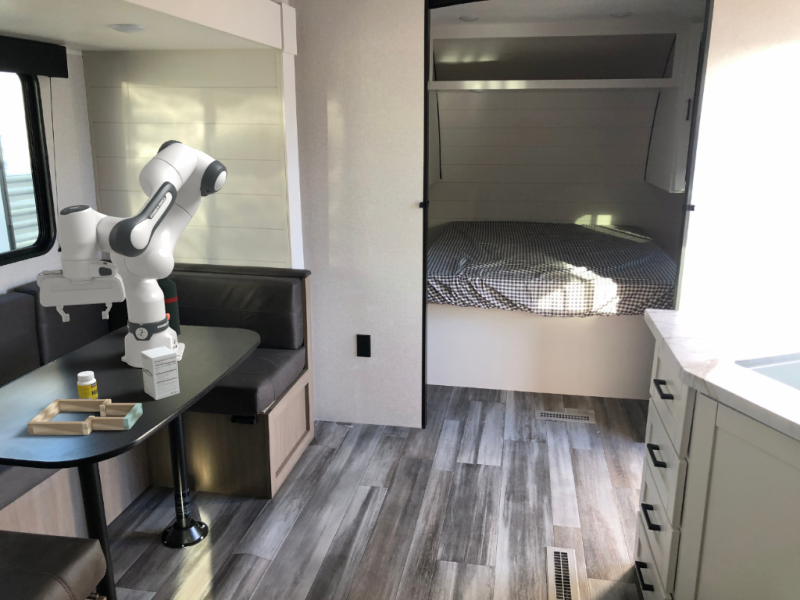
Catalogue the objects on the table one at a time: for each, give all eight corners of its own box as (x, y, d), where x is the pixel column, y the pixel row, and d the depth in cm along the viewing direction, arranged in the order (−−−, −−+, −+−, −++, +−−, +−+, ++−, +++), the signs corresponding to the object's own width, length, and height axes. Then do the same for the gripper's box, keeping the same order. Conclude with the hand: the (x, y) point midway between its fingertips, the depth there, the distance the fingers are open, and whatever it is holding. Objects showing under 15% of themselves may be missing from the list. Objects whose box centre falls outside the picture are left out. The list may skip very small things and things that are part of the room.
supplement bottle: (95, 405, 174) (92, 376, 172) (77, 406, 173) (73, 377, 171) (100, 398, 178) (97, 369, 176) (82, 398, 178) (78, 370, 175)
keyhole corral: (57, 409, 171) (56, 399, 170) (146, 409, 172) (144, 399, 171) (29, 434, 157) (27, 423, 156) (125, 434, 158) (124, 423, 157)
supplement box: (144, 392, 182) (139, 351, 179) (168, 385, 187) (165, 345, 184) (155, 400, 177) (151, 358, 174) (180, 393, 182) (177, 351, 179)
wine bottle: (155, 330, 236) (148, 250, 228) (183, 330, 237) (176, 250, 229) (148, 337, 229) (140, 255, 221) (177, 337, 229) (169, 255, 221)
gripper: (33, 273, 159) (40, 326, 163) (122, 269, 167) (127, 319, 170) (37, 268, 165) (43, 319, 168) (123, 264, 172) (127, 313, 176)
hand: (86, 319), depth 169 cm, fingers open, 8 cm apart
